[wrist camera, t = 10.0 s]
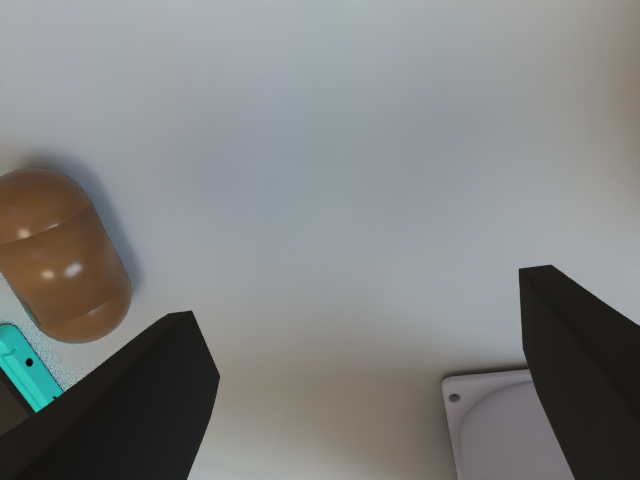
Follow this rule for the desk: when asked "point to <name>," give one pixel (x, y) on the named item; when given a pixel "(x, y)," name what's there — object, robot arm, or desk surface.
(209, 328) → the desk surface
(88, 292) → the brown egg capsule
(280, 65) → the desk surface
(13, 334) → the handheld game console
